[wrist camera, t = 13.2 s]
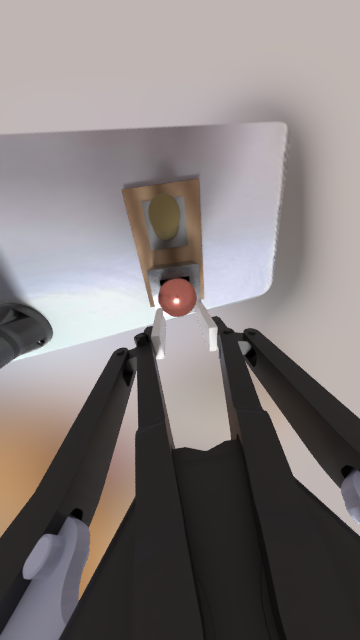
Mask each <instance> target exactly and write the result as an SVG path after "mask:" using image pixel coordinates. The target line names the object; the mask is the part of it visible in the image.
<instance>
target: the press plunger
mask: <svg viewBox="0 0 360 640" xmlns="http://www.w3.org/2000/svg"><path fill="white" fill-rule="evenodd" d="M196 301H197V294H196V291H195V289H194V287H193V286H192V285H191V283H190V282H188V281H187V280H185V279H182V278H181V277H178V278H171V279H167V280H166V282H165V283H164V284H163V285H162V286H161V288H160V290H159V294H158V302H159V305H160V307H161V308H163V311H164V312H165V313H166V314H168V315H170V316H174V317H180V316H184V315H186V314H188V313H189V312H191V311H192V310H193V308H194V307H195V305H196Z"/></svg>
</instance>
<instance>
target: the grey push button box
mask: <svg viewBox="0 0 360 640" xmlns="http://www.w3.org/2000/svg"><path fill="white" fill-rule="evenodd" d="M147 274H148V278H149V283H150V287H151V291H152V295H153V300H154V304H155V308H156V310H157V308H161V307H160V305H159V302H158V294H159V290H160V288H161V286H162V285H163V284H164V282H163V280H164V279H171V278H178V277H185V280H187V281H188V282H190V283H191V285H192V286H193V287H194V289H195V291H196V294H197V301H196V303H198V302H201V296H200V278H199V263H196V262H194V261H191V260H190V261H183V262H176V263H169V264H162V265H155V266H152V267H151V268H150V269H149V270H147ZM191 312H197V311H196V305H195V307H194V308H193V310H192V311H191ZM191 312H189V313H191ZM163 313H164V316H170V315H168V314H166V313H165V312H164V311H163Z"/></svg>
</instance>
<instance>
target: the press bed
mask: <svg viewBox="0 0 360 640" xmlns="http://www.w3.org/2000/svg"><path fill="white" fill-rule="evenodd" d="M122 193H123V197H124V201H125V205H126V209H127V213H128V217H129V221H130V225H131V229H132V233H133V237H134V241H135V245H136V249H137V253H138V257H139V261H140V265H141V269H142V273H143V277H144V281H145V286H146V290H147V294H148V298H149V302H150V306H151V307H154V306H155V304H154V300H153V295H152V291H151V287H150V283H149V278H148V274H147V270H149V269H150V268H151V267H152V266H155V265H162V264H169V263H176V262H183V261H190V260H191V261H194V262H196V263H199V278H200V296H201V299H204V284H203V260H202V237H201V213H200V190H199V179H193V180H186V181H179V182H172V183H165V184H158V185H151V186H144V187H136V188H129V189H122ZM160 193H166V194H168V195H171V196H172V197H173V198H174V199H175V200H176V202H177V204H178V205H179V209H180V221H179V230H178V233H177V235H176V236H175V237H174V238H173V239H172V240H169V241H164V240H161V239H160V238H158V237H157V236H156V234H155V233H154V230H153V226H152V225H151V223H150V220H149V216H148V208H149V204H150V202H151V200H152V199H153V198H154V197H155V196H156V195H158V194H160ZM181 278H182V279H185V277H181ZM166 280H167V279H164V280H163V282H164V283H165V282H166Z"/></svg>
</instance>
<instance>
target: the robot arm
mask: <svg viewBox="0 0 360 640" xmlns="http://www.w3.org/2000/svg"><path fill="white" fill-rule="evenodd" d="M196 311H197V321H198V324H199V326H200V328H201V331H202V333H203V336H204V338H205V341H206V343H207V346H208V348H209V351H216V350H217V346H218V348H219V359H220V363H221V370H222V377H223V384H224V390H225V397H226V404H227V411H228V418H229V425H230V432H231V440H229V441H224V442H223V443H221V444H219V445H217V446H215V447H214V448H212V449H210V450H208V451H202V450H196V449H192V448H186V447H184V448H177V449H175V446H174V442H173V438H172V433H171V428H170V423H169V419H168V414H167V409H166V404H165V400H164V395H163V391H162V385H161V381H160V376H159V371H158V366H157V362H156V357H157V359H162V358H165V338H166V337H165V336H166V323H165V318H164V313H163V308H157V310H156V315H155V319H154V324H153V326H150V327H147V328H146V329H145V330H144V333H140V334H138V335H136V336H135V337H134V340H135V343H136V346H137V347H136V348H134V349H131V350H128V349H127V348H119V349H117V350H116V351H114V353H113V354H112V356H111V358H110V359H109V361H108V363H107V365H106V367H105V368H104V370H103V372H102V374H101V375H100V377H99V379H98V381H97V383H96V384H95V386H94V388H93V390H92V391H91V393H90V395H89V397H88V399H87V400H86V402H85V404H84V406H83V408H82V409H81V411H80V413H79V415H78V417H77V418H76V420H75V422H74V423H73V425H72V427H71V429H70V431H69V432H68V434H67V436H66V438H65V439H64V441H63V443H62V445H61V447H60V448H59V450H58V452H57V454H56V456H55V457H54V459H53V461H52V463H51V465H50V466H49V468H48V470H47V472H46V473H45V475H44V477H43V479H42V481H41V482H40V484H39V486H38V488H37V489H36V491H35V493H34V494H33V495H32V497H31V498H30V499H29V501H28V502H27V503H26V505H25V506H24V507H23V509H22V510H21V511H20V513H19V514H18V515H17V517H16V518H15V519H14V521H13V522H12V523H11V524H10V526H9V527H8V528H7V530H6V531H5V532H4V534H3V535H2V536H1V538H0V640H360V536H359V535H358V534H357V533H356V532H354V531H353V530H352V529H351V528H350V527H349V526H348V525H347V524H346V523H344V522H343V521H342V520H341V519H340V518H339V517H338V516H337V515H336V514H334V513H333V512H332V511H331V510H330V509H329V508H328V507H327V506H326V505H325V504H324V503H322V502H321V501H320V500H319V499H318V498H317V497H316V496H315V495H314V494H313V493H311V492H310V491H309V490H308V489H307V488H306V487H305V486H304V485H302V484H301V483H300V482H299V481H298V480H297V479H296V478H295V477H294V476H293V474H292V472H291V469H290V467H289V464H288V462H287V459H286V456H285V454H284V451H283V449H282V446H281V444H280V441H279V438H278V436H277V433H276V431H275V428H274V426H273V423H272V421H271V418H270V416H269V414H268V413H267V411H264V410H263V409H262V407H261V404H260V401H259V399H258V396H257V393H256V390H255V388H254V385H253V382H252V379H251V377H250V374H249V371H248V368H247V366H246V363H247V364H248V365H249V367H250V368H251V370H252V371H253V372H254V374H255V375H256V377H257V378H258V380H259V381H260V382H261V384H262V385H263V386H264V388H265V389H266V391H267V392H268V393H269V395H270V396H271V398H272V399H273V401H274V402H275V403H276V405H277V406H278V408H279V409H280V410H281V412H282V413H283V415H284V416H285V417H286V419H287V420H288V422H289V423H290V424H291V426H292V427H293V429H294V430H295V431H296V433H297V434H298V436H299V437H300V438H301V440H302V441H303V443H304V444H305V445H306V447H307V448H308V450H309V451H310V453H311V454H312V455H313V457H314V458H315V459H316V460H317V462H318V463H319V464H320V466H321V467H322V468H323V469H324V471H325V472H326V473H327V474H328V475H329V476H330V478H331V479H332V480H333V481H334V482H335V483H336V484H337V486H338V487H339V488H341V493H342V496H343V499H344V501H345V506H346V509H347V511H348V512H349V514H350V515H351V517H352V518H353V519H354V520H355V521H356V522H357V523H358V524H360V419H359V418H358V417H357V416H356V415H354V413H352V412H351V411H350V410H349V409H348V408H347V407H346V406H344V405H343V404H342V403H341V402H340V401H339V400H337V399H336V398H335V397H334V396H333V395H332V394H330V393H329V392H328V391H327V390H326V389H325V388H324V387H322V386H321V385H320V384H319V383H318V382H317V381H316V380H314V379H313V378H312V377H311V376H310V375H309V374H307V373H306V372H305V371H304V370H303V369H302V368H301V367H300V366H298V365H297V364H296V363H295V362H294V361H293V360H291V359H290V358H289V357H288V356H287V355H285V353H283V352H282V351H281V350H280V349H279V348H277V346H275V345H274V344H273V343H272V342H271V341H270V340H269V339H267V338H266V337H265V336H264V335H262V333H260V332H259V331H258V330H256V329H252V328H248V329H245V330H244V333H236V332H234V331H233V330H232V329H230V328H227V326H226V325H225V324H224V323H223V321H222V320H221V319H220V318H219V317H217V316H215V317H211V316H210V315H209V313H208V311H207V310H206V308H205V307H204V305H203V304H202V302H198V303H196ZM51 338H52V328H51V326H50V324H49V323H48V321H47V320H46V319H45V318H44V317H43V316H42V315H40V314H39V313H38V312H36V311H35V310H33V309H31V308H29V307H26V306H23V305H19V304H3V305H0V368H2V367H3V366H5V365H6V364H8V363H9V362H11V361H12V360H13V359H15V358H16V357H18V356H20V355H23V354H25V353H28V352H31V351H33V350H36V349H39V348H41V347H43V346H44V345H45V344H47V343H48V342H49V341H50V340H51ZM245 361H246V363H245ZM136 371H137V385H138V387H137V388H138V430H137V431H136V436H135V468H136V469H135V472H136V473H135V475H136V479H135V480H136V481H135V483H136V496H135V498H134V500H133V502H132V503H131V505H130V507H129V509H128V511H127V513H126V515H125V517H124V518H123V520H122V522H121V524H120V526H119V528H118V530H117V531H116V533H115V535H114V537H113V539H112V541H111V543H110V544H109V546H108V548H107V550H106V552H105V554H104V556H103V558H102V559H101V561H100V563H99V565H98V567H97V569H96V570H95V572H94V574H93V576H92V578H91V580H90V582H89V584H88V585H87V587H86V589H85V591H84V593H83V595H82V597H81V599H80V600H79V602H78V595H79V584H80V579H81V574H82V570H83V568H84V566H85V564H86V561H87V559H88V555H89V545H90V532H89V526H90V523H91V521H92V518H93V516H94V513H95V511H96V508H97V505H98V503H99V500H100V496H101V493H102V490H103V487H104V484H105V480H106V477H107V473H108V470H109V466H110V462H111V459H112V455H113V452H114V448H115V445H116V441H117V438H118V434H119V431H120V427H121V424H122V420H123V416H124V413H125V410H126V406H127V403H128V399H129V395H130V392H131V388H132V385H133V381H134V378H135V374H136Z"/></svg>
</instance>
